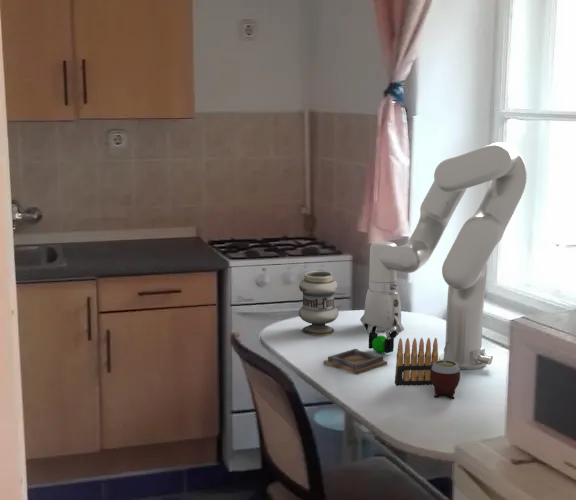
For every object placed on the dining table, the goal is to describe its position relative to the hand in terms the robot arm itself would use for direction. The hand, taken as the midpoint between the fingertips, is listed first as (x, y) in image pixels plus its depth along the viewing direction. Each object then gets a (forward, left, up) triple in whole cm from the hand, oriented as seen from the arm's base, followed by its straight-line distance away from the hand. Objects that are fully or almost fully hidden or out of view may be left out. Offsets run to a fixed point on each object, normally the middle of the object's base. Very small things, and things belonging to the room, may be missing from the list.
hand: (380, 349), depth 239 cm
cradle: (-2, +13, -1) cm, 13 cm away
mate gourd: (-33, +16, -1) cm, 37 cm away
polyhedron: (0, 0, -1) cm, 1 cm away
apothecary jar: (+27, -3, -1) cm, 27 cm away
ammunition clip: (-23, +14, -1) cm, 27 cm away
